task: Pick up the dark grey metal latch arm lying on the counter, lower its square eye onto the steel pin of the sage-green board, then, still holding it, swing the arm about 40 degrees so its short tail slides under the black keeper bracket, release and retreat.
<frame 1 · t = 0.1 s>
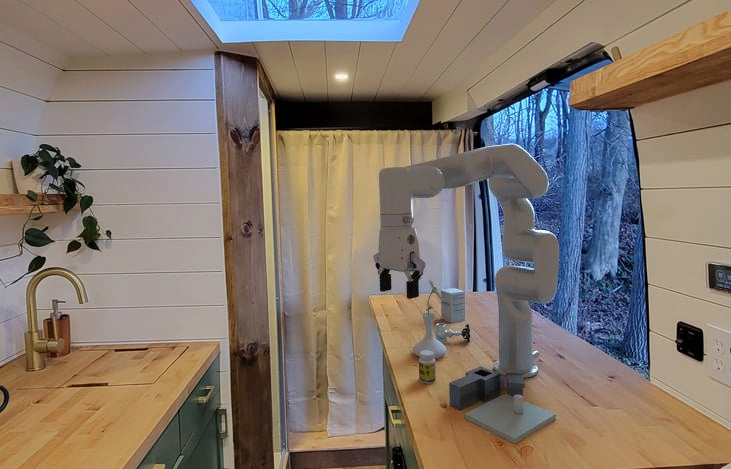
hand: (398, 294, 104), 31 cm above the worktop, tool pointing down, fingers open, 9 cm apart
flower in vase: (430, 354, 148), on the worktop
valve: (452, 342, 159), on the worktop
supplement box: (453, 320, 185), on the worktop
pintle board: (509, 418, 106), on the worktop
supplement bottle: (427, 381, 128), on the worktop
link: (454, 407, 112), on the worktop
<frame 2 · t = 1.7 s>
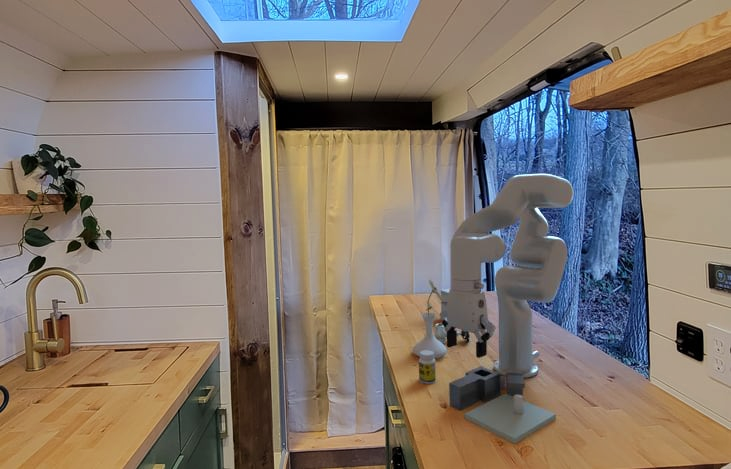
hand: (466, 351, 113), 14 cm above the worktop, tool pointing down, fingers open, 9 cm apart
nothing on the worktop moved.
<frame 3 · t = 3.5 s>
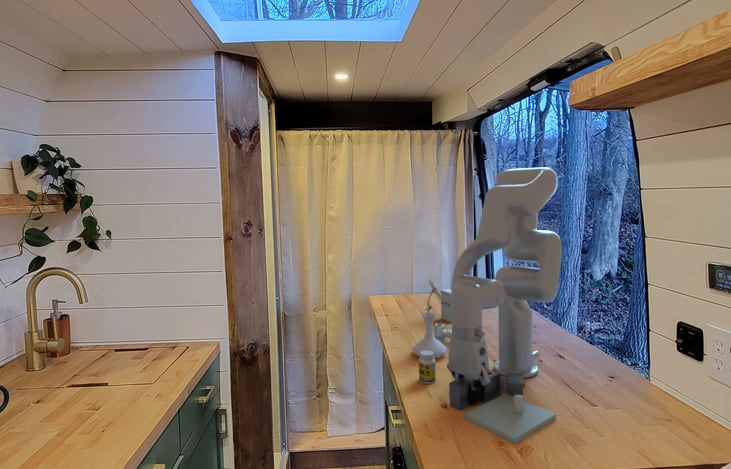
hand: (468, 399, 115), 1 cm above the worktop, tool pointing down, fingers closed on link, 3 cm apart
link: (454, 407, 112), on the worktop, touching gripper
everything else where it was.
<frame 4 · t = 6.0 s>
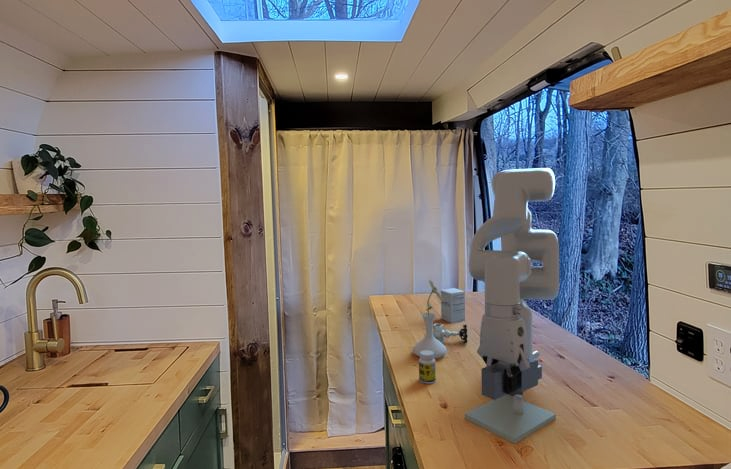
hand: (502, 388, 101), 9 cm above the worktop, tool pointing down, fingers closed on link, 3 cm apart
link: (487, 397, 98), point 9 cm above the worktop, touching gripper
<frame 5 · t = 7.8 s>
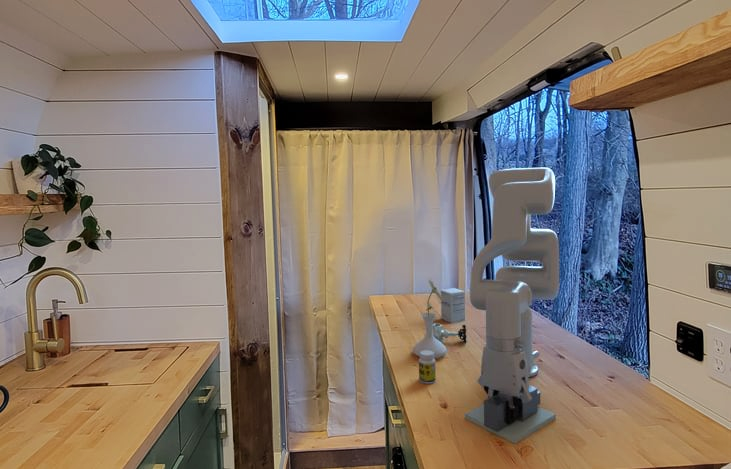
hand: (503, 418, 102), 2 cm above the worktop, tool pointing down, fingers closed on link, 3 cm apart
link: (490, 429, 99), point 1 cm above the worktop, touching gripper
when the fingers open (2 cm above the worktop, at t = 8.9 s): link stays where it is, resting on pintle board.
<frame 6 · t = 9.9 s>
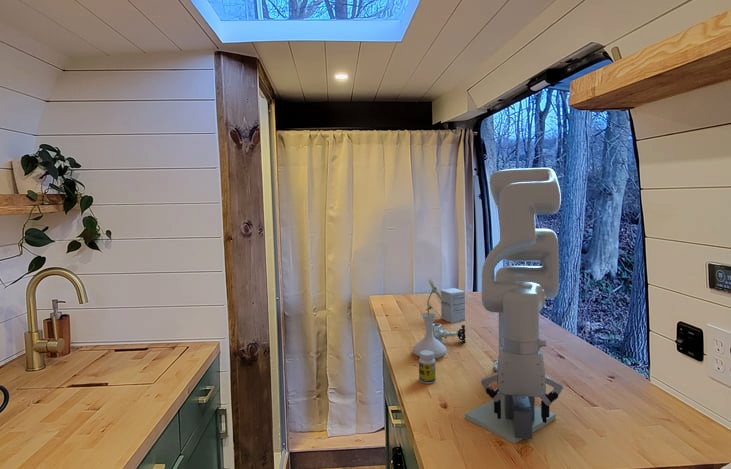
hand: (521, 417, 100), 3 cm above the worktop, tool pointing down, fingers open, 9 cm apart
link: (523, 438, 95), point 1 cm above the worktop, touching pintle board
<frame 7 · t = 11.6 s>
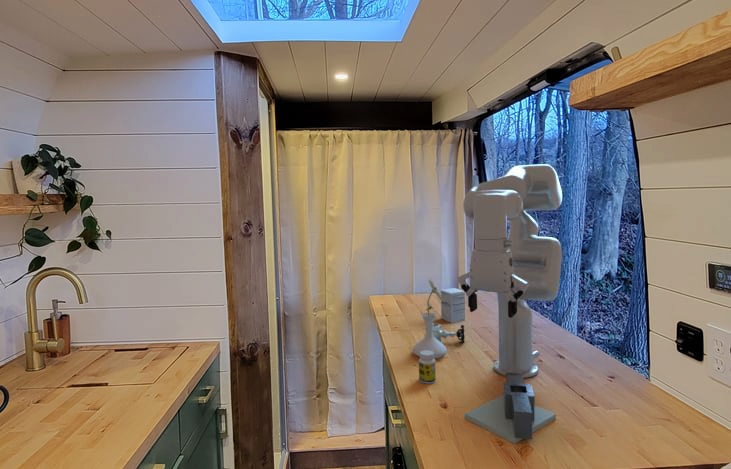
hand: (492, 313, 109), 24 cm above the worktop, tool pointing down, fingers open, 9 cm apart
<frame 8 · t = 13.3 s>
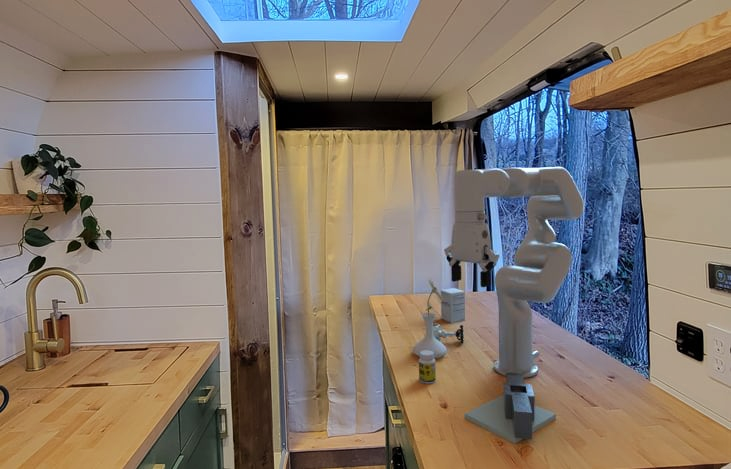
hand: (470, 283, 116), 30 cm above the worktop, tool pointing down, fingers open, 9 cm apart
at the end: link 0.1 cm from the target spot, point 1.2 cm above the worktop; link tilted 0°; the gripper is holding nothing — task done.
